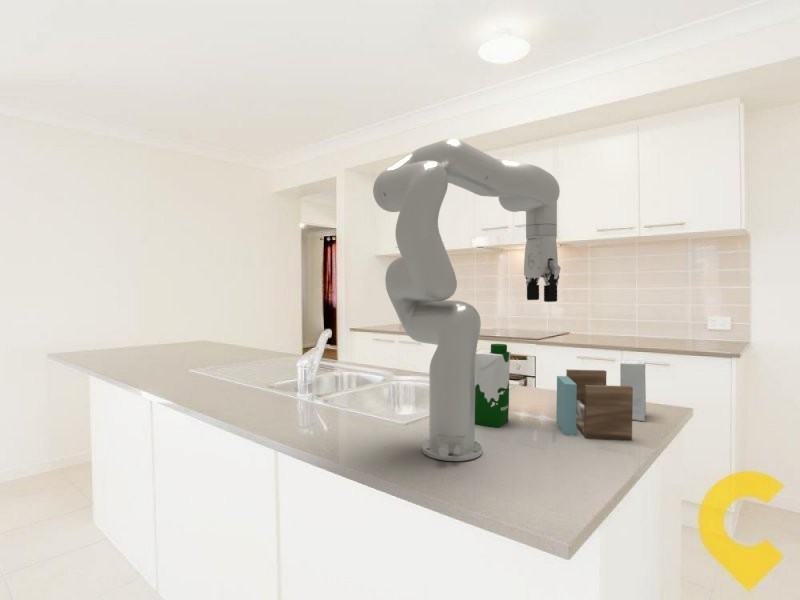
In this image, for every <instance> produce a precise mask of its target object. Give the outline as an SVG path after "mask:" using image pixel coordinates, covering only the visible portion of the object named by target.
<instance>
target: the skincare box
mask: <svg viewBox="0 0 800 600" xmlns="http://www.w3.org/2000/svg"><path fill="white" fill-rule="evenodd" d="M619 365H620V368H619V369H620V379H619V380H620V386H631V387H633V408H632V421H637V422H645V421H646V418H645V417H646V416H647V415H646V414H647V406H646V404H647V399H646V398H647V397H646V396H647V395H646V391H647V389H646V385H647V384H646V360H634V359H633V360H632V359H631V360H630V359H623V360H621V361H620V364H619Z"/></svg>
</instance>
